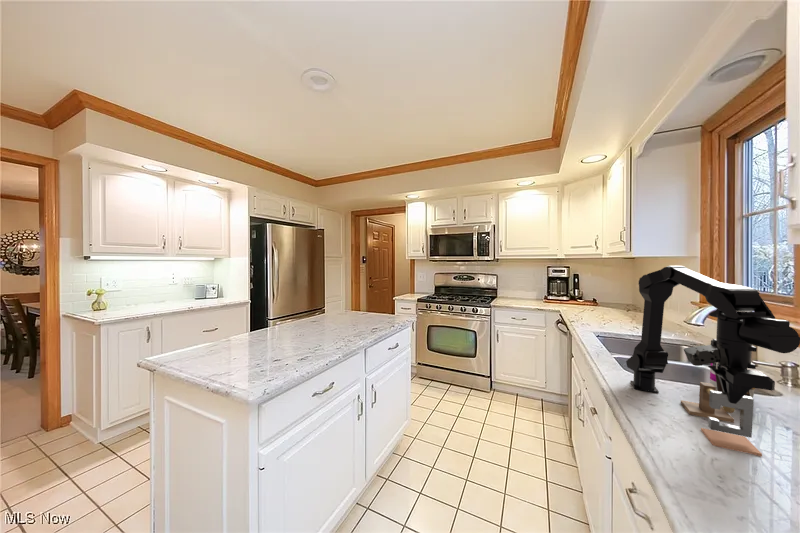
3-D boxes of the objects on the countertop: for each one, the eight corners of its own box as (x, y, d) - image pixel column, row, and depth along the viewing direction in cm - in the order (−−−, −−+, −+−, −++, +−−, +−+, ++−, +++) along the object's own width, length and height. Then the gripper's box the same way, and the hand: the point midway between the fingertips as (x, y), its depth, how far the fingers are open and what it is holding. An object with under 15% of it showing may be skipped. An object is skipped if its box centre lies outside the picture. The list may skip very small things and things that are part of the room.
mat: (700, 429, 77) (701, 427, 77) (744, 438, 73) (744, 436, 73) (713, 445, 70) (713, 443, 70) (761, 456, 67) (762, 453, 67)
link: (708, 426, 74) (709, 390, 73) (748, 434, 71) (749, 396, 70) (710, 429, 73) (712, 392, 72) (751, 437, 69) (753, 399, 69)
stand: (680, 403, 90) (681, 376, 90) (721, 410, 86) (722, 382, 85) (703, 431, 76) (705, 399, 75) (754, 442, 71) (755, 408, 71)
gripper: (675, 326, 82) (673, 379, 83) (705, 345, 66) (702, 411, 67) (731, 330, 77) (728, 388, 78) (778, 352, 61) (774, 424, 62)
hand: (730, 401), depth 71 cm, fingers closed on link, 1 cm apart
